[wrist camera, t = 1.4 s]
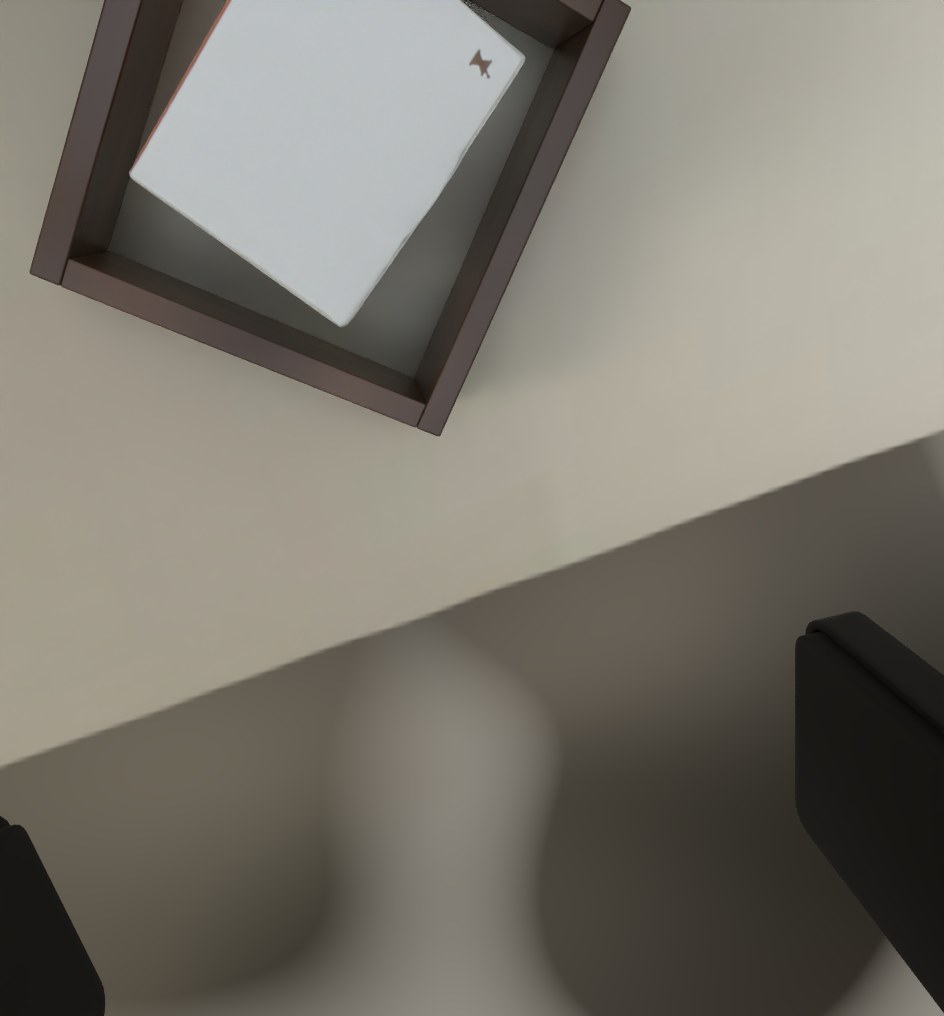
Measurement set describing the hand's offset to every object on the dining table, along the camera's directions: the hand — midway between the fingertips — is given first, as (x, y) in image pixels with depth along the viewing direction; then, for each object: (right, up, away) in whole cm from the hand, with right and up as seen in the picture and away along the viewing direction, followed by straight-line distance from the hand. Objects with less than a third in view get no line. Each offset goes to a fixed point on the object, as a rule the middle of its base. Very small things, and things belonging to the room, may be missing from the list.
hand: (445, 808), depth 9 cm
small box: (-5, +18, +21) cm, 28 cm away
